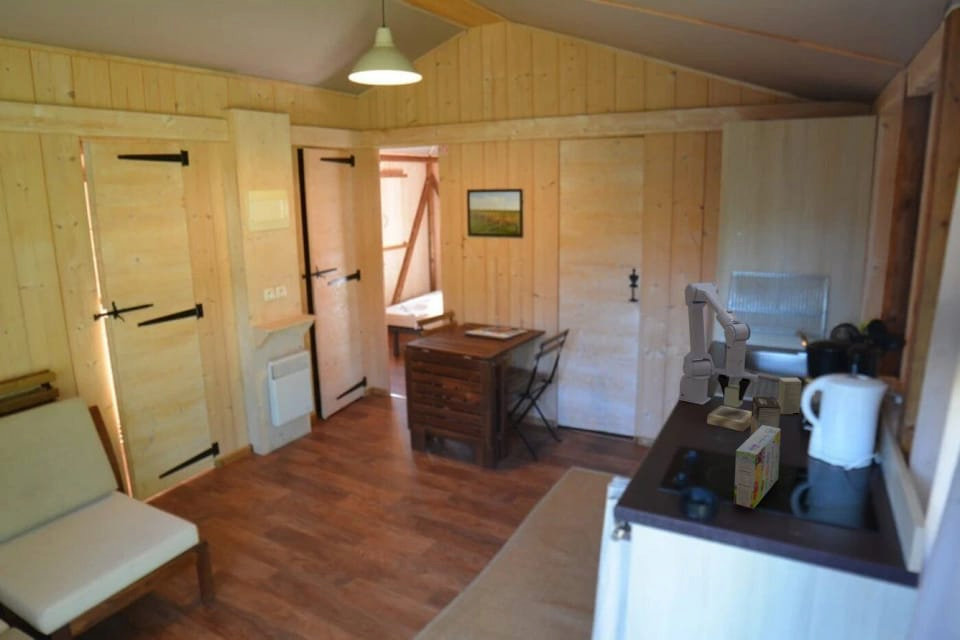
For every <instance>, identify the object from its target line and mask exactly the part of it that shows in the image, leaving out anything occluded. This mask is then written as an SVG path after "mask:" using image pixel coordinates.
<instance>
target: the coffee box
mask: <svg viewBox="0 0 960 640" xmlns="http://www.w3.org/2000/svg"><path fill="white" fill-rule="evenodd" d="M780 408H781V407H780V406H779V404H778V400H777V399H776V398H775V397H774V396H752V403H751V412H752V415H751V425H750V430H749V431H750V432H749V434H750V435H749V437H750V436H752V435H753V434H754V433H755V432H756V431H757V430H758V429H759V428H760V427H761V426H762V425H765V426H770V427H775V428H780V417H781V413H780Z"/></svg>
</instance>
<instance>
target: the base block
mask: <svg viewBox="0 0 960 640" xmlns="http://www.w3.org/2000/svg"><path fill="white" fill-rule="evenodd" d="M706 415H707V416H706V417H707V418H706V424H707V425H712V426H717V427H721V428H726V429H731V430H733V431H738V432H744V431H746V430H747V429H748V428H749V427H751V415H752V410H745V409H741V408H737V407H732V406H727V405H721V404H720V405H719V406H718V407H716V408H715V409H714V410H712V411H711V412H709V413H708V414H706Z"/></svg>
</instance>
